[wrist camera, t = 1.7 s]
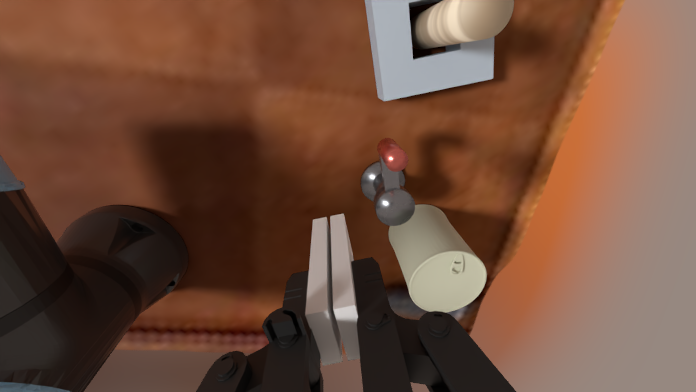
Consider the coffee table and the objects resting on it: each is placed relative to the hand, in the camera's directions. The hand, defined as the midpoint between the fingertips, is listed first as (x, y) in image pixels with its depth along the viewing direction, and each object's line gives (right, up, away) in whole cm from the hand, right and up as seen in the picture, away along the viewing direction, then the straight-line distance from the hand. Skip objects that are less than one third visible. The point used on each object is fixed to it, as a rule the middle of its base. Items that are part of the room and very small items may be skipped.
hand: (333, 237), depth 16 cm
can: (+12, -3, +27) cm, 30 cm away
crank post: (+6, +4, +23) cm, 24 cm away
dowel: (+9, +21, +16) cm, 28 cm away
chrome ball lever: (+5, +4, +16) cm, 18 cm away
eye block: (+9, +21, +16) cm, 28 cm away
